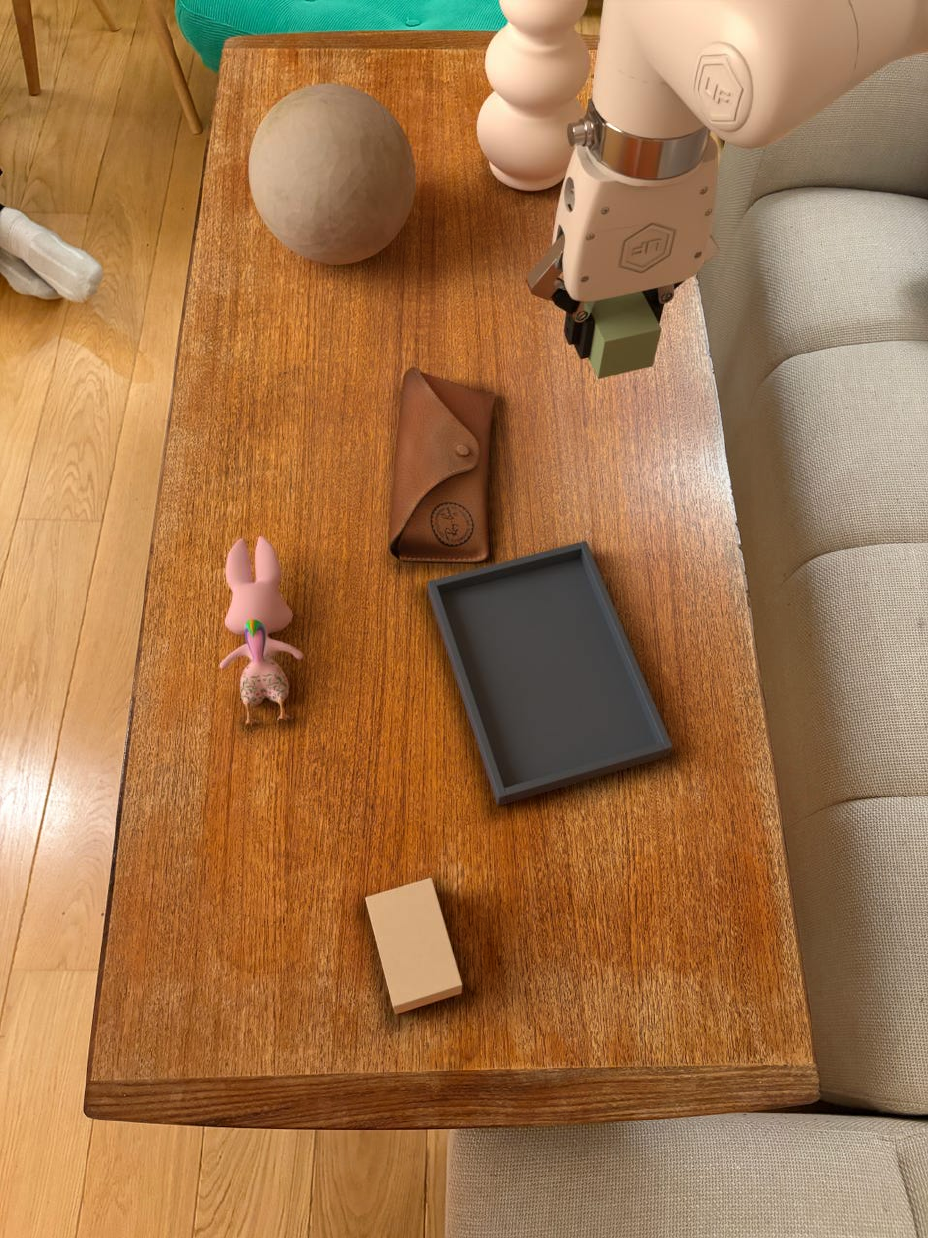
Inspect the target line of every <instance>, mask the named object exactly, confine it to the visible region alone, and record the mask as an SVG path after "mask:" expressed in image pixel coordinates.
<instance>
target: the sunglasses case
mask: <svg viewBox="0 0 928 1238" xmlns="http://www.w3.org/2000/svg"><path fill="white" fill-rule="evenodd" d="M400 393H401V394H400V402H399V410H398V421H397V422H398V423H397V431H396V432H397V433H396V445H395V455H394V465H393V466H394V468H393V476H392V477H393V479H392V486H391V487H392V489H391V501H390V514H389V515H390V516H389V517H390V518H389V533H388V535H389V536H388V550H389V552H390V554H391V555H392V556H393V557H395V558H396V559H398V560H399V561H402V562H409V563H411V562H412V563H428V564H429V563H430V564H463V563H465V564H469V563H470V564H475V563H481V562H484V561H487V559H488V558H489V556H490V539H489V538H490V537H489V519H488V492H489V490H488V486H489V465H490V448H491V447H490V446H491V436H492V435H491V433H492V424H493V418H494V410H495V404H496V398H497V393H496V392H494V391H492V390H491V391H489V390H477V389H473V388H471V387H467V386H466V385H465V386H464V385H462V384H459V383H456V382H453V381H450V380H447V379H444V378H441V377H438V376H435V375H432V374H429V373H426V372H424V371H423V372H422V371H421V370H420V368H419V367H416V366H412V367H410V368H408V369H407V370H406V371H405V372H404V374H403V376H402V386H401V392H400Z"/></svg>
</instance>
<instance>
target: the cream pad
mask: <svg viewBox="0 0 928 1238" xmlns="http://www.w3.org/2000/svg"><path fill="white" fill-rule="evenodd" d="M365 903H366V907H367V911H368V915H369V918H370V923H371V927H372V930H373V934H374V938H375V943H376V946H377V950H378V954H379V958H380V961H381V962H380V963H381V965H382V969H383V974H384V978H385V981H386V985H387V990H388V993H389V997H390V1001H391V1005H392V1008H393V1010H394V1013H395V1015H398V1014H401V1013H405V1012H408V1011H411V1010H414V1009H418V1008H420V1007H423V1006H424V1007H425V1006H427V1005H429V1004H433V1003H435V1002H440V1001H442V1000H445V999H448V998H451V997H454V996H458V995H461V994H462V991H463V981H462V978H461V975H460V971H459V968H458V964H457V960H456V958H455V954H454V951H453V947H452V944H451V943H452V942H451V940H450V937H449V932H448V930H447V926H446V923H445V922H446V921H445V918H444V916H443V911H442V909H441V908H442V907H441V906H440V901H439V898H438V895H437V890H436V888H435V884H434V880H433V877H428V878H425V879H422V880H418V881H416V882H412V883H409V884H405V885H401V886H398V887H395V888H392V889H389V890H384V891H382V892H378V893H375V894H372V895H369V896H368V895H367V896H365Z"/></svg>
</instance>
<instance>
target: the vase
mask: <svg viewBox="0 0 928 1238" xmlns="http://www.w3.org/2000/svg"><path fill="white" fill-rule="evenodd" d="M498 1H499V2H498V3H499V6H500V10H501V12H502V14H503V16H504V17H505V18H506V20H507V23H506V25H504V26H503V27H502V28H501V29H499V31H498V32H497V33H495V34H494V36H493V37H492V39H491V41H490V43H489V44H488V46H487V50H486V54H485V57H484V69H485V74H486V78H487V80H488V82H489V84H490V87H491V88H492V89H493V91H492V92H491V94H489V96H487V98H486V99H485V101H484V102H483V103H482V105H481V107H480V110H479V113H478V116H477V121H476V137H477V141H478V144H479V147H480V149H481V151H482V153H483V155H484V156H485V158H486V159H487V160H488V162H489V168H490V170H491V172H492V174H493V176H494V177H495V178H496V179H497V180H498V181H499V182H500V183H502V184H503V185H506V186H507V187H510V188H511V189H515V190H519V191H525V192H534V191H535V192H536V191H537V192H538V191H542V190H547V189H550V188H552V187H554V186H556V185H557V184H560V182H561V181H562V180H564V179H565V176H566V172H567V169H568V166H569V163H570V160H571V157H572V154H573V152H574V149H575V147H576V146H574V147H571V146H570V144H569V141H568V136H567V128H568V124H569V123H574V122H579V120H580V119H582V118H584V117H585V115H586V111H585V109H584V107H583V105H582V103H581V102H580V100H579V98H577V96H578V95H579V94H580V93H581V91H582V90H583V89H584V88H585V86H586V84H587V82H588V80H589V76H590V74H591V73H590V72H591V55H590V51H589V48H588V46H587V44H586V42H585V40H584V38H583V37H582V35H580V33H579V32H578V31H577V30H576V28H575V25H576V24H577V23H578V22H579V21H580V20H581V19H582V18H583V16H584V14H585V11H586V10H587V6H588V2H589V1H588V0H498Z"/></svg>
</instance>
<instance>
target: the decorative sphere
mask: <svg viewBox="0 0 928 1238" xmlns="http://www.w3.org/2000/svg"><path fill="white" fill-rule="evenodd" d="M249 151H250V152H249V156H248V183H249V188H250V193H251V196H252V199H253V202H254V205H255V208H256V210H257V212H258V214H259V216H260V218H261V220H262V222H263V223H264V225H265V226H266V228H267V229H268V230H269V232H271V234H272V235H273V236H274V237H275V238H276V240H277V241H279V242H280V244H282V245H283V247H285V248H287V249H288V250H290V251H292V252H293V253H295V254H296V255H298V256H299V257H302V258H303V259H306V260H309V261H312V262H315V263H319V264H325V265H333V266H334V265H335V266H336V265H337V266H339V265H350V264H354V263H358V262H361V261H364V260H366V259H369V258H371V257H373V256H375V255H377V254H378V253H380V252H381V251H382V250H384V249H385V248H386V247H387V246H388V245H390V244H391V243H392V241H393V240H394V239H395V238H396V237H397V235H398V234H399V233H400V231H401V230H402V229H403V227H404V226H405V224H406V222H407V220H408V218H409V215H410V213H411V210H412V206H413V204H414V201H415V200H414V199H415V194H416V193H415V192H416V186H417V185H416V184H417V177H416V163H415V160H414V159H415V158H414V155H413V150H412V146H411V144H410V142H409V138H408V137H407V135H406V133H405V131H404V128H403V127H402V126H401V124H400V122H399V121H398V119H397V118H396V117H395V116H394V115H393V113H392V112H391V111H390V110H389V109H388V108H387V107H386V106H384V104H383V103H382V102H380V101H379V100H377V99H376V98H375V97H373V96H371V95H370V94H369V93H366V92H364V91H363V90H360V89H358V88H355V87H352V86H349V85H346V84H341V83H340V84H339V83H316V84H312V85H307V86H304V87H301V88H299V89H297V90H294V91H292V92H290V93H289V94H287V95H286V96H284V97H282V98H281V99H280V100H279V101H277V102H276V103H275V104H274V105H273V106H272V107H271V108H270V110H269V111H268V112H267V113H266V115H264V116H263V119H262V120H261V122H260V123H259V125H258V127H257V130H256V132H255V134H254V137H253V140H252V142H251V147H250V150H249Z"/></svg>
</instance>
